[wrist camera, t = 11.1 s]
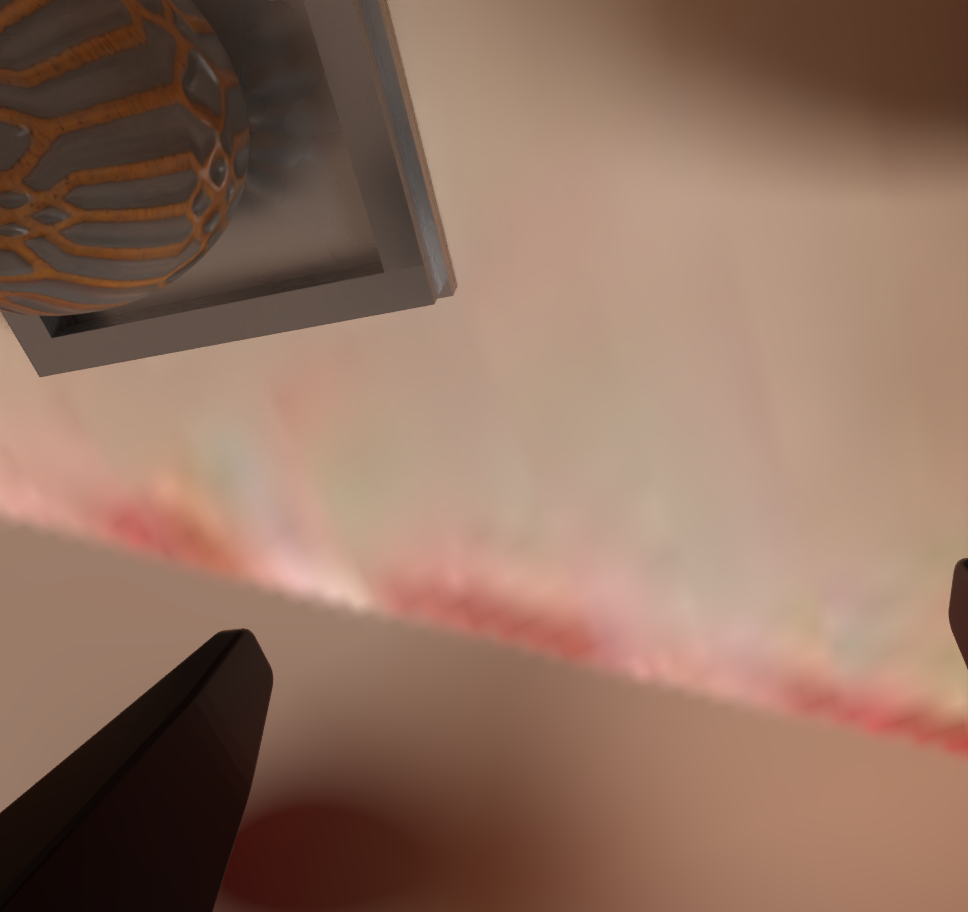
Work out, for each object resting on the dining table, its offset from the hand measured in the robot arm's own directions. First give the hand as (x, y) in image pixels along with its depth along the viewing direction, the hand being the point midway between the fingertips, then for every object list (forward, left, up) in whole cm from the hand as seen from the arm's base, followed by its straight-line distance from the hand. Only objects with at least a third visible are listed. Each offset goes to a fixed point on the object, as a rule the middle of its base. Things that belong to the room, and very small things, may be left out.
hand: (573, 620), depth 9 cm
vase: (+9, -7, -11) cm, 16 cm away
